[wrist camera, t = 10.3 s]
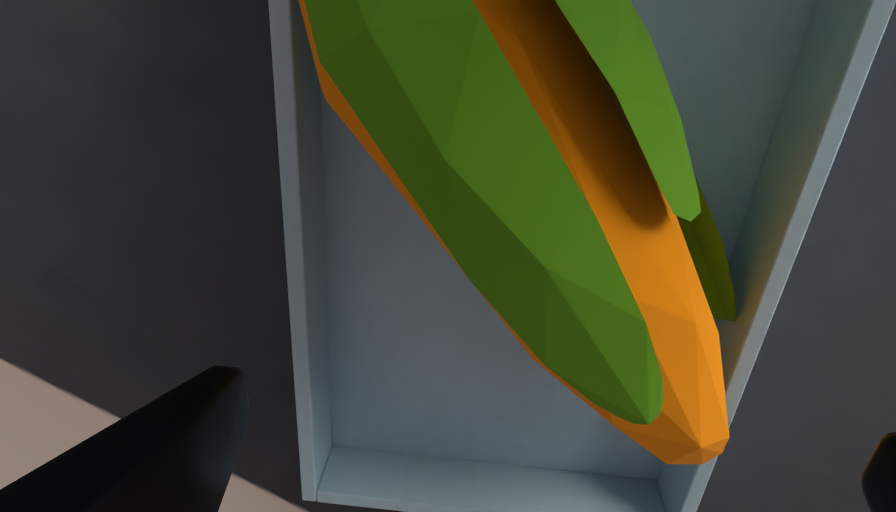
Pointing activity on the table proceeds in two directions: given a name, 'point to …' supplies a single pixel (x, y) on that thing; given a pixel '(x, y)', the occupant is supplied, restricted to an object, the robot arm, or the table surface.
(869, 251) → the table surface
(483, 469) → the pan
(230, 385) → the robot arm
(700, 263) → the corn
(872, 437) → the table surface
